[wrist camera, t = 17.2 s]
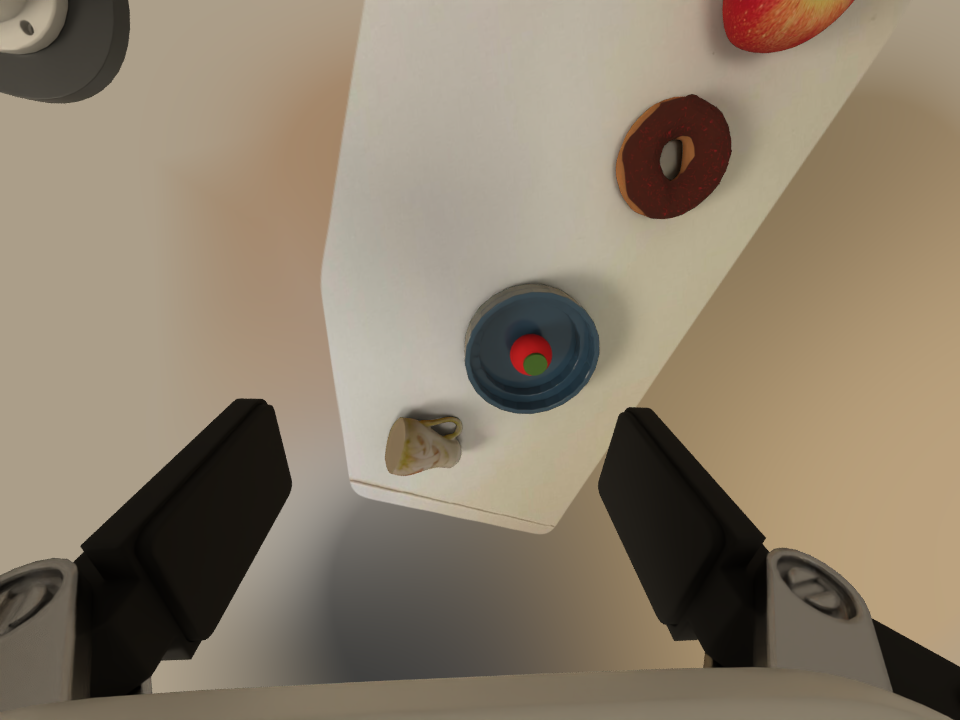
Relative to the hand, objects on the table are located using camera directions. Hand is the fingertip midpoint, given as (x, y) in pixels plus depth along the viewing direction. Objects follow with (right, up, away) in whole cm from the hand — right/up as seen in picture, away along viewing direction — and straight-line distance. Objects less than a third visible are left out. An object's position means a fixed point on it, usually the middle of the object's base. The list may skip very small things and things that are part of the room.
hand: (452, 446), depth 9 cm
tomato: (+7, +4, +32) cm, 33 cm away
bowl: (+7, +4, +32) cm, 33 cm away
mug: (-6, -8, +38) cm, 39 cm away
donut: (+19, +22, +24) cm, 38 cm away
